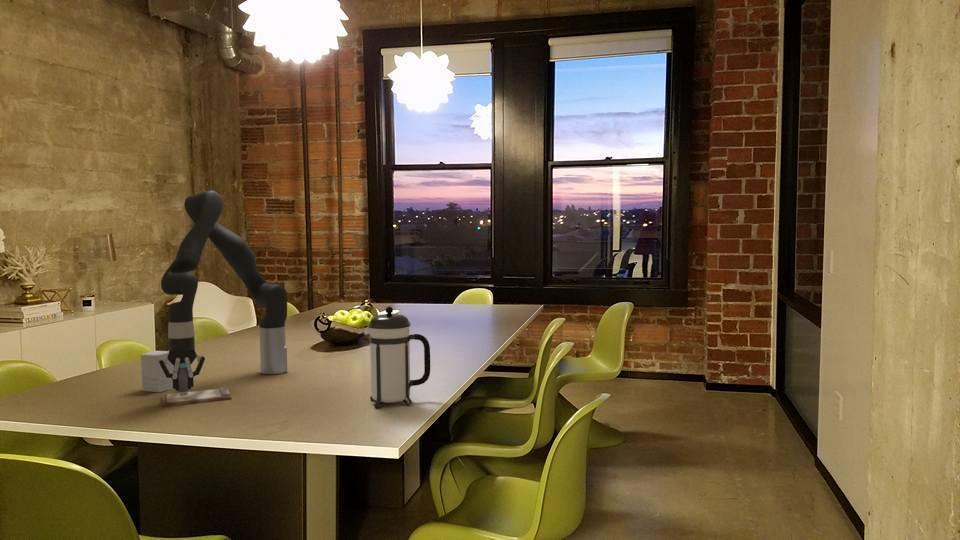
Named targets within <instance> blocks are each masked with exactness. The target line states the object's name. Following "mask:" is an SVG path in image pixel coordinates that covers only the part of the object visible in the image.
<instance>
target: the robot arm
mask: <svg viewBox="0 0 960 540" xmlns="http://www.w3.org/2000/svg"><path fill="white" fill-rule="evenodd" d="M183 204H184V210H185V212H186V213H187V215H188V217H189V218H190V219H191V220H192V222H193V223H194V224H193V226H192V227H191V228H190V230H189V231H188V232H187V234H186V235H185V236H184V238H183V239H182V241H181V242H180V244H179V247H178V248H177V249H178V250H177V253H176V256H175V259H174V260H173V261H172V262H171V264H170V265H169V267H168V268H167V269H166V271H165V272H164V274H163V275H162V277H161V280H160V281H161V282H160V288H161V290H162V292H164V294H165V295H170V296H179V295H180V296H181V295H182V296H181V299H180V301H177V302H176V301H175V302H172V303H169V305H168V308H167V309H168V313H167V315H168V328H167V332H168V333H167V336H168V337H167V338H168V351H169V354H168V356H167V358H164V359H160V360H159V364H160V366H161V368H162V370H163V372H164V373H165V375H166V377H167V378H172V380H173V388H172V389H174V391H177V392H178V381H177V372H178V368H179V363H186V366H187V370H188V373H189V390H192V388H193V387H194V386H195V382H194V379H195V378H194V377H196V376H199V375H200V374H201V370H202V369H203V366H204V363H205V361H206V358H205V356H204V355H199V354H197V352H196V350H195V349H196V346H195V345H196V343H195V332H196V331H195V327H194V326H195V325H194V312H193V310H194V303H195V300H196V299H195V298H196V294H197V291H198V286H199V280H198V278H197V276H196V275H195V273H193V271H195V270H197V268H198V267H199V263H200V260H201V257H202V255H203V251H204V248H205V245H206V242H207V241H208V239H209V241H211V243H212V244H213V245H214V246H215V247H216V249H217V250H218V252H220V254H221V256H222V257H223V259H224V260H225V261H226V262H227V264H228V265H229V266H230V267H231V268H232V270H233V271H234V272H235V274H236V275H237V277H239V279H240V280H241V281H242V283H243V284H244V286H245V288H247V291H248V292H249V294H250V295H251V297H252V299H253V300H254V302H255V304H256V305H258V306H259V307H260V308H264V309H265V315H264V317H262V318H260V319H259V326H258V327H259V353H260V354H259V355H260V357H259V358H260V373H261V374H263V375H277V374H278V375H279V374H283V373H288V347H287V345H286V342H287V341H286V321H287V318H288V294H287V290H286V288H285V287H284V286H283V285H282V284H281V285H280V284H278V283H269V282H267V280H266V279H265V278H264V277H263V275H262V274H261V273H260V272H259V270H258V266H257V260H256V256H255V253H254V252H253V250H252V249H251V247H250V246H249V245H248V243H247V242H246V240H245V239H244V238H242V237H241V235H239V234H237V233H235V232H233V231H231V230H230V229H228V228H226V227H224V226H223V225H222V224H220V223H219V222H218V220H219V218H220V216H221V214H222V212H223V209H224V202H223V199H222V196H221V195H220V194H219V193H218V192H217V191H215V190H212V189H211V190H204V191H201V192H198V193H194V194H191V195H188V196H187V197H186V198H185V199H184V203H183ZM168 360H169V361H170V362H171V364H172V365H173V366H174V369H173V374H172V373H169V371H168V369H167V367H166V365H167V361H168ZM195 360H196V361H197V365H196V368H195V370H194V371H193V369H192V364H193V362H194V361H195Z"/></svg>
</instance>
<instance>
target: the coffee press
mask: <svg viewBox="0 0 960 540" xmlns="http://www.w3.org/2000/svg"><path fill="white" fill-rule="evenodd" d="M385 312H386V313H385V314H378V315H375V316H373V317H372V318H371V319H370V320H369V323H368V326H367V327H366V328H365V331H364V333H363V334H364V335H369V336H368V339H369V340H368V341H369V344H370V345H369V347H370V348H369V350H370V351H369V353H370V354H369V355H370V396H369V398H370V401H371V402H373V401H375V404H374V408H375V409H381V408H382V407H383V405H384V403H385V404H386V403H389V404H390V403H399V402H403V403H404V404H405V406H407V407H409V406H412V404H413V401H412V399H411V397H410V396H411V387H415V386H420V385H423V384H425V383H426V382H427V381H428V380H429V378H430V375H431V347H430V342H429V341H428V339H427V337H426V336H425V335H422V334H419V333H414V334H410V327H411V322H410V320H409V318H408V317H407V316H405V315H403V314H397V313H393V312H394V309H393V307H392V306H387V307H386V308H385ZM411 340H415V341H420V342H421V343H422V344H423V358H424V359H423V360H424V362H423V363H424V366H423V367H424V372H423V375H422V377H420V378H418V379H413V380H412V379H411V363H410V362H411V360H410V357H411V356H410V353H411V351H410V350H411V349H410V342H411Z"/></svg>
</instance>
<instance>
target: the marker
mask: <svg viewBox="0 0 960 540" xmlns="http://www.w3.org/2000/svg"><path fill="white" fill-rule="evenodd" d="M177 381H178V391H177V393H179V396H186V395H188V392H190V389H189V373H188V370H187V366H186V363H179V368H178V372H177Z"/></svg>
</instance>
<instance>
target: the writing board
mask: <svg viewBox="0 0 960 540" xmlns="http://www.w3.org/2000/svg"><path fill="white" fill-rule="evenodd" d="M228 400H232V395H231V393H230V390H229V388H228V386H222V387H219V388H215V389H204V390H195V391H188V395H186V396H179V392H177V393H176V392H175V393H167V394H166V393H165V394H161V407H162V408H163V407H165V408H166V407H171V406H180V405H181V406H182V405H184V406H185V405H193V404H201V403H210V402H219V401H228Z"/></svg>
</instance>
